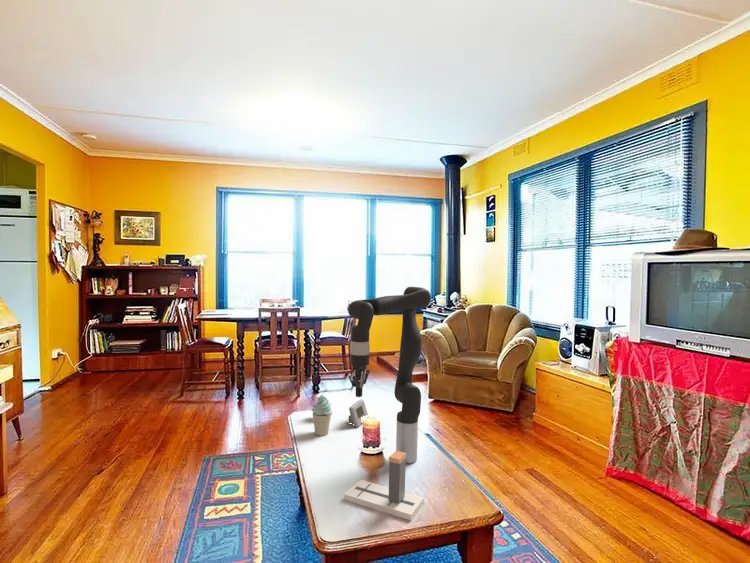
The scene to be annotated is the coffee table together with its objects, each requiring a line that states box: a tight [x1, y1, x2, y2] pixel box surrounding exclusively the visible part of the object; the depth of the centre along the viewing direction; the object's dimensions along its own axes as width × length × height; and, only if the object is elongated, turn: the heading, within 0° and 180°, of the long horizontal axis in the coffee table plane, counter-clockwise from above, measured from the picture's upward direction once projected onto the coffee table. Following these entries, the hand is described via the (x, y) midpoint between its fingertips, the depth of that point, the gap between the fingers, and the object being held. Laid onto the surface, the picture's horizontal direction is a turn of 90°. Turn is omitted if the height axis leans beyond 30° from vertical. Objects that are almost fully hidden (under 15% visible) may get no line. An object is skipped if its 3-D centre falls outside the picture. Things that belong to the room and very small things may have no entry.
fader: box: [388, 450, 406, 503], centre depth 151 cm, size 6×4×16 cm, turn 153°
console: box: [343, 479, 425, 521], centre depth 153 cm, size 12×26×2 cm, turn 63°
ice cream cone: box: [311, 394, 333, 437], centre depth 213 cm, size 10×11×20 cm
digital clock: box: [348, 398, 369, 428], centre depth 229 cm, size 16×9×11 cm, turn 148°
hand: (358, 396), depth 167 cm, fingers closed
